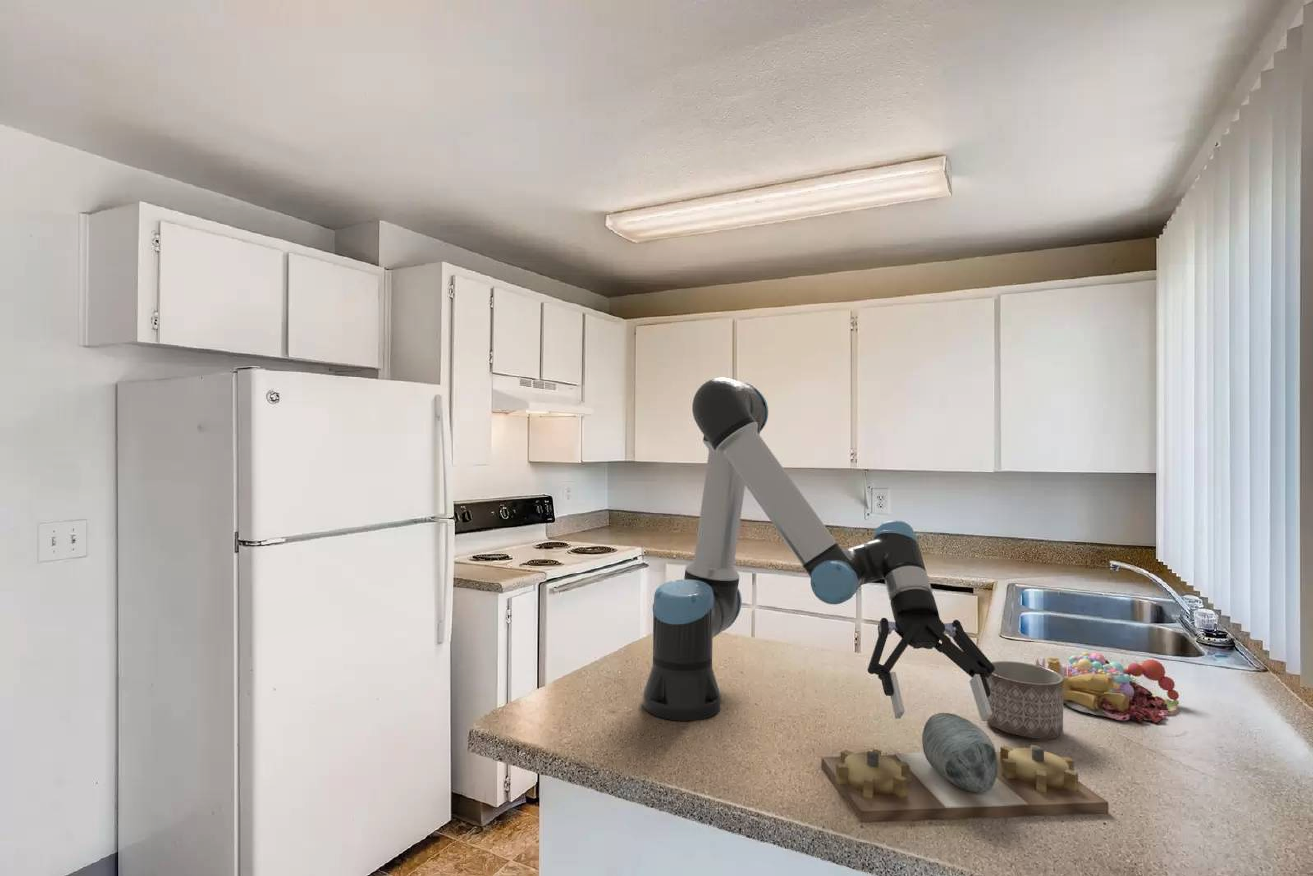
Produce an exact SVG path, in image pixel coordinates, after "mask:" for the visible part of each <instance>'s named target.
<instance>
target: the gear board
mask: <svg viewBox="0 0 1313 876" xmlns="http://www.w3.org/2000/svg"><path fill="white" fill-rule="evenodd" d="M996 755H997V777H996V780H995V783H994V785H993V787H992V788H991V789H990V790H988V791H986V792H984V793H977V792H973V791H969V790H966V789H963V788H961V787H959V786H957V785H955V784H954V783H952V782H951V781H949V780H948V779H946V778H945V777H944V776H942V775H941V774H940V773H939V772H938V771H937V770H935V769H934V768H933V767H932V766H931V765H930V763H929V762H928V761H927V759H926V756H925V754H924V752H907V753H903V752H902V753H893V754H882V750H879V749H874V748H873V749H872V751H866V752H865V751H864V752H863V751H862V752H852V751H849V750H847V749H845V750H841V751H840V755H839V756H835V755H834V756H821V759H820V760H821V766H820V767H821V768H822V769H823V770H824V772H825V774H826V775H827V776H828V778H829V779H830V781H831V782H832V783H833V785H834V786H835V787H836V789H837V790H838V792H839V793H840V795H841V796H842V797H843V799H844V800H845V801H846V803H847V805H848V806H849V807H850V809H851V811H853V813H854V815H855V816H856V817H857V819H858V820H859V821H860V823H875V822H876V823H877V822H879V823H881V822H896V821H897V822H904V821H908V822H909V821H931V820H932V821H933V820H956V819H957V820H958V819H961V820H962V819H981V818H984V819H985V818H1007V817H1008V818H1010V817H1011V818H1012V817H1035V816H1037V817H1039V816H1041V817H1042V816H1060V815H1061V816H1063V815H1065V816H1067V815H1087V814H1088V815H1089V814H1109V801H1108V800H1106V799H1104V798H1103V797H1102V796H1100V795H1099V794H1097V793H1096V792H1095V791H1093V790H1092V789H1090V788H1089V787H1087V786H1086V785H1084V784H1083V783H1082V782H1080V781H1079V772H1077V771H1075V760H1074V759H1072V758H1071V757H1069V756H1058V755H1056V754H1053V753H1051V752H1049V751H1045V749H1044V748H1042V747H1040V746H1038V745H1033V744H1030V745H1029V747H1018V748H1017V747H1016V748H1011V746H1010V747H1009V746H1007V745H1003V746H1000V751H996Z"/></svg>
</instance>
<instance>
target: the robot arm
mask: <svg viewBox="0 0 1313 876" xmlns="http://www.w3.org/2000/svg"><path fill="white" fill-rule="evenodd" d="M691 406H692V409H691V410H692V416H693V419H694V421H695V423H696V425H697V427H698V429H699V430H700V432H701V433H702V435H703V438H702V439H703V440H702V442H703V444H704V445H705V447H706V449H707V450H708V455H707V460H706V461H707V462H706V463H707V464H706V469H705V478H704V484H703V491H702V492H703V493H702V499H701V505H700V514H699V522H698V528H697V534H696V535H697V536H696V541H695V548H694V549H695V551H694V557H693V560H692V562H689V564H688V565H686V566H685V569H684V575H683V576H684V578H683V579H676V580H675V581H671V580H670V581H666V582H665V583H662V584H661V585H659V586H658V587H657V588H656V590H655V592H654V594H653V602H652V667H651V669H650V671H649V675H648V678H647V681H646V683H645V688H644V689H643V694H642V707H643V709H644V710H645V711H646V712H648V713H649V714H650V715H652V716H655V717H658V718H662V719H666V720H672V721H683V722H684V721H686V722H687V721H698V720H703V719H707V718H710V717H713V716H714V715H716V714H718V713H719V712H720V710H721V705H722V704H721V703H722V700H721V699H722V696H721V693H720V689H719V686H718V682H717V679H716V675H715V672H714V669H713V640H714V639H713V638H715V637H716V636H718V635H719V634H721V633H722V632H724V631H726V630H727V629H728V628H729V629H730V627H731V626H732V625H733V623H735V622H736V621H737V618H738V616H739V615H740V612H741V609H742V594H741V591H740V589H739V583H740V574H739V573H738V571H737V570H736V568H735V559H736V553H737V545H738V539H739V533H740V532H739V531H740V525H741V519H742V518H741V516H742V511H743V510H742V509H743V503H744V495H745V489H746V488H747V489H748V491H749V492H750V494H751V495H752V497H754V499H755V501H756V502H757V503H758V505H759V506H760V507H761V509H762V510H763V512H764V514H765V515H766V516H767V518H768V519H769V520H770V522H771V523H772V524H773V526H774V528H775V529H776V531H777V532H778V533H779V534H780V536H781V538H782V539H783V541H784V542H785V544H787V546H788V547H789V549H790V551H791V552H792V553H793V555H794V556H795V557H796V559H797V560H798V562H799V564H800V565H801V566H802V568H803V569H804V570H805V572H806V574H807V575H808V576H809V578H810V588H811V590H812V593H813V594H814V595H815V597H816V598H817V599H818V600H819V601H821V602H822V603H826V604H827V605H840V604H843V603H845V602H847V601H848V600H850V599H851V598H853V596H855V594H856V593H857V590H858V589H859V588H860V587H861V586H863V585H867V584H870V583H873V582H877V581H880V580H883V579H884V583H885V588H886V590H887V594H888V599H889V600H890V602H889V603H890V609H891V613H892V617H893V620H894V621H889V620H888V618H886V617H882V618H880V620H879V623H878V625H877V634H878V636H877V638H876V642H875V645H874V649H873V652H872V654H871V657H870V661H869V663H868V667H867V672H868V673H869V674H871V675H874V674H875V675H877V678H878V679H879V680H880V681H881V686H882V689H883V693H884V695H885V697H888V696H889V697H890V700H891V705H892V709H893V713H894V718H895V719H901V718H902V716H903V715H904V714H905V706H904V703H903V698H902V694H901V693H902V692H901V691H900V690H901V689H900V685H899V681H898V677H897V672H896V671H892V669H893V667H894V666H895V665H896V663H897V662H898V660H899V659H900V658H901V656H902V654H903V653H904V652H905V650H906V648H907V647H908V646H910V648H911V647H912V648H913V649H915V650H916V649H917V650H918V649H927V650H932V649H935V650H937V652H939V653H942V654H943V655H944V656H946V657H947V658H948V659H949V660H950V661H952V662H953V663H954V664H955V665H957V667H959V668H960V669H961V670H962V671H964V672H965V673H966V674H967V675H968V676H969V677H970V678H971V679H970V680H969V684H970V688H971V692H972V694H973V698H974V701H975V704H976V708H977V711H978V714H979V717H980V720H981V722H987V720H988V719H989V718H990V717H991V715H992V711H991V708H990V705H989V702H988V699H987V698H988V697H989V696H990V689H989V686H988V683H987V680H986V677H987V678H988V677H989V676H990V675H991V674H992V673H993V671H994V670H995V667H994V666H993V664H992V663H991V662H992V661H990V659H989V658H987V656H986V654H984V653H983V651H982V650H981V649H980V648H979V647H978V645H976V643H975V642H974V641H973V640H972V639H971V637H970V636H969V635H968V634H967V633H966V632H965V630H964V628H963V625H962V623H961V622H960V621H959V620H958V619H954V620H953V621H952V622H948V623H944V622H943V621H942V620H941V618H940V614H939V613H940V612H939V609H938V606H937V602H936V600H935V597H934V594H933V590H932V589H933V588H932V586H931V582H930V579H929V576H928V573H927V570H926V566H925V563H924V559H923V556H922V551H921V548H920V544H919V542H918V540H917V537H916V535H915V532H914V529H913V527H912V526H911V525H910V524H909V523H907V522H905V521H903V520H895V519H893V520H888V521H887V520H886V521H884V522H882V523H880V525H878V526H877V527H876V528H875V529H874V531H873V539H870V540H868V541H865V542H863V543H860V544H859V543H858V544H856V545H853V546H849V547H846V548H841V546H840V545H839V544H838V543H837V540H836V539H835V538H834V537H833V535H832V534H831V533H830V531H829V529H828V528H827V527H826V526H825V524H824V522H823V521H822V520H821V518H820V517H819V516H818V514H817V513H816V511H815V510H814V509H813V507H812V506H811V505H810V503H809V502H808V500H807V499H806V497H805V496H804V495H803V493H802V492H801V491H800V490H799V488H798V487H797V485H796V484H795V482H794V480H792V478H791V477H790V476H789V474H788V472H787V471H786V470H785V468H784V467H783V466H782V464H781V463H780V461H778V459H777V457H776V456H775V455H774V453H773V452H772V451H771V449H770V448H769V446H768V445H767V444H766V441H764V440H763V438H762V437H761V431H762V430H763V429H764V428H765V426H766V424H767V421H768V418H769V406H768V402H767V400H766V398H765V396H764V395H763V393H761V391H759V390H758V389H757V388H756V387H754V386H753V385H751V384H749V383H748V382H747V383H746V382H743V381H738V380H735V379H732V378H728V377H716V378H712V379H710V380H708V381H705V382H704V383H702V385H701V386H700V387H699V388H698V390H697V391H696V393H695V394H694V396H693V400H692V405H691ZM892 631H894V632H895V633H896V634H897V635H898V636H899V637H900V638H901V639H900V641H899V642H898V643H897V645H896V646H895V647H894V649H893V651H892V652H891V654H890V655H889V657H887V659H886V661H885V662H884V664H881V663H880V661H881V658H882V655H883V652H884V648H885V646H886V644H887V643H886V642H887V638H888V637H889V635H891V634H892ZM944 632H946V633H947V634H948V635H947V634H945V633H944ZM951 638H952V639H953V641H954V643H953V642H952V640H951Z"/></svg>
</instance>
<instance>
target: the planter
mask: <svg viewBox="0 0 1313 876" xmlns="http://www.w3.org/2000/svg"><path fill="white" fill-rule="evenodd" d="M990 662H991V663H992V664H993V666H994V667H995V670H994V671H993V673H992V674H991V675H990V676H989V677H988V678H987V677H986V680H987V683H988V686H989V689H990V696H989V697H988V698H987V699H988V702H989V705H990V708H991V711H992V715H991V717H990V718H989V719H988V720H987V721H986V722H987V723H988V724H990V725H991V726H992V727H994V728H995V729H998V730H1001V731H1003V732H1005V733H1009V734H1011V735H1016V736H1020V737H1027V738H1032V739H1033V738H1034V739H1036V738H1037V739H1052V738H1056V737H1059V736H1061V734H1062V733H1063V731H1064V703H1063V677H1062V676H1061V675H1060V674H1059V673H1057V672H1055V671H1053V670H1051V669H1048V667H1046V666H1045V667H1041V666H1038V665H1036V664H1032V663H1027V662H1022V661H1010V660H1008V661H1007V660H998V661H990Z"/></svg>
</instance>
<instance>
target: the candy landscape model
mask: <svg viewBox="0 0 1313 876" xmlns="http://www.w3.org/2000/svg"><path fill="white" fill-rule="evenodd" d="M1046 662H1047V668H1048V669H1051V670H1053V671H1055V672H1057V673H1059V674H1060V675H1061V676H1062V677H1063V704H1065V705H1066V706H1067V707H1070V708H1071V709H1074V710H1077V711H1079V712H1082V713H1087V714H1088V713H1089V714H1092V715H1096V716H1101V717H1108V718H1111V719H1115V720H1117V721H1129V720H1130V719H1131V720H1133V721H1135V722H1137V723H1138V724H1139V725H1140V724H1142V722H1143V720H1145V721H1151V722H1153V723H1155V724H1156V723H1159V722H1160V721H1162V720H1164V719H1165V716H1173V715H1174V714H1177V711H1178V710H1179V703H1180V701H1179V700H1178V699H1179V697H1180V695H1179V693H1178V691H1177V690H1175V689H1174V688H1175V687H1176V685H1175V681H1174V679H1172V678H1171V677H1169V676H1165V675H1166V669H1165V666H1163V664H1162V663H1161V662H1159V661H1158V660H1155V659H1147V660H1144V661H1143V662H1142V663H1141V664H1140V663H1136V662H1132V663H1129V664H1128V667H1127V668H1124V667H1123V665H1122V664H1121V663H1120V662H1117V661H1111V662H1109V661H1108V659H1106V657H1105V656H1104V655H1103V654H1101V653H1098V652H1093V653H1089V652H1087V651H1083V652H1082V653H1081V654H1080V655H1077V654H1076V655H1075V654H1073V655H1071V656H1070V657H1069V658H1068V662H1069V665H1068V666H1067V667H1066V666H1062V663H1061V661H1060V657H1059V658H1058V657H1057V658H1054V657H1053V658H1052V657H1048V658H1047V661H1046V658H1045V657H1044V658H1043V659H1042V662H1041V664H1040V661H1039V658H1037V659H1036V660H1035V665H1038V666H1041V667H1045V668H1046ZM1142 675H1143V676H1144V678H1147V680H1150V681H1157V684H1158V686H1159V688H1160V689H1162V690H1163V691H1166V695H1167V697H1168V698H1167V697H1164V696H1162V695H1159V694H1156V693H1153V692H1152V691H1150V690H1149V689H1148V688H1146V687H1144V686H1142V685H1141V683H1140V682H1138V681H1137V679H1136V678H1134V677H1142ZM1131 676H1132V677H1131Z"/></svg>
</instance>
